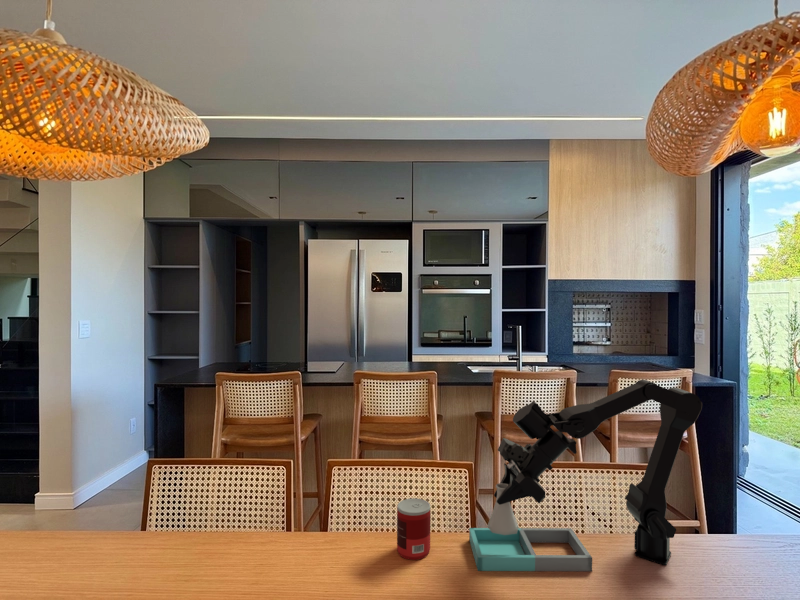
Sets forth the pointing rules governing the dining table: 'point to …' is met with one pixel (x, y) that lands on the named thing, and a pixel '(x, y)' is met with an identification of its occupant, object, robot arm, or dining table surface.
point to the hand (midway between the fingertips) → (496, 499)
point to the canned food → (413, 528)
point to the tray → (526, 550)
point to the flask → (502, 516)
